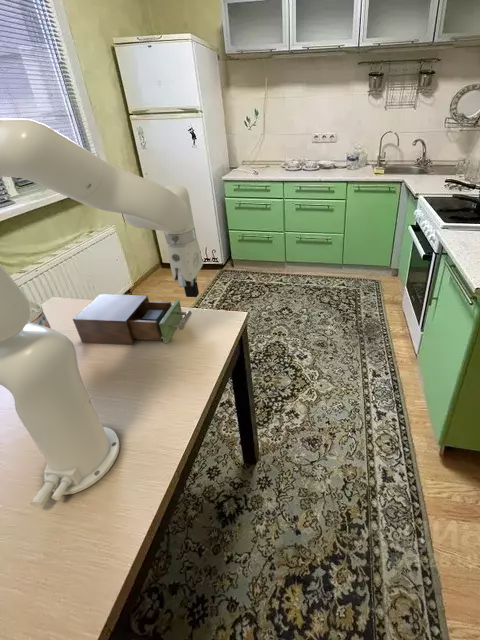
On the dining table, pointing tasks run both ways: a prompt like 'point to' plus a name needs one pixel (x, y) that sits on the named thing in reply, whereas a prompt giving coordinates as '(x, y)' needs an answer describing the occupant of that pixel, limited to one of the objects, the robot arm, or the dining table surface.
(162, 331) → the drawer
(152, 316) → the block
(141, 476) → the dining table surface
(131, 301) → the cabinet
